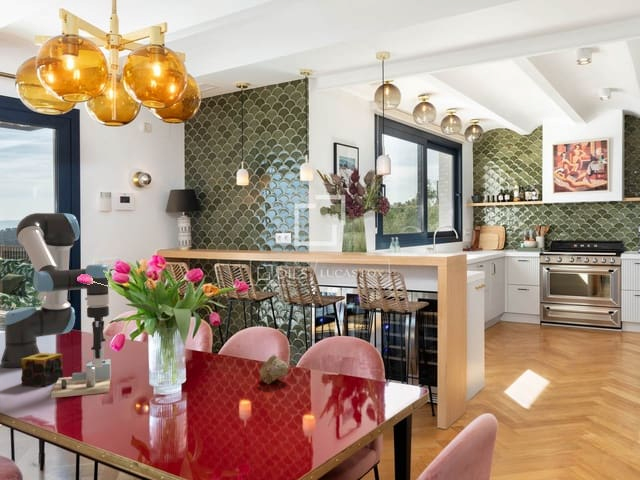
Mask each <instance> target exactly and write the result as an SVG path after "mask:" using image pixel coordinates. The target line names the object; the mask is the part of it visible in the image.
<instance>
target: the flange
mask: <svg viewBox="0 0 640 480" xmlns="http://www.w3.org/2000/svg"><path fill="white" fill-rule="evenodd" d="M111 362H112V360H111V358H107V359H102V367H96V368H95V380H103V379H110V376H111V377H112V366H111V365H112V364H111ZM87 367H94V360H87V363H86V366H85V369H86V368H87ZM71 377H72V381H73V380H84V379H86V371H81V372H73V373H72V374H71Z"/></svg>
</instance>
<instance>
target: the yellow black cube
mask: <svg viewBox="0 0 640 480" xmlns="http://www.w3.org/2000/svg"><path fill="white" fill-rule="evenodd" d="M21 360H22V367H21V377H20V379H21V386H24V387H40V388H41V387H42V388H46V387H48V386H50V385H53V384H56V383H57V381H58V379H59V378H63V376H64V373H63V371H64V369H63V354H62V353H46V352H45V353H42V352H40V353H39V354H36V355H32V356H29V357H26V358H22V359H21Z"/></svg>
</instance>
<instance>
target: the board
mask: <svg viewBox="0 0 640 480" xmlns="http://www.w3.org/2000/svg"><path fill="white" fill-rule="evenodd" d="M63 379H66V380H67V388H66V389H62V386H61V380H63ZM111 380H112V375H111V376H110V379H103V380H95V387H90V388H87V387H86V379H84V380H73V381H72V376H68V377H62V378H59V379H58V381H57V382H56V383H55V385H54V387H53V388H52V391H51V393H50V399H56V398H64V397H74V396H85V395H94V394H104V393H110V386H111Z"/></svg>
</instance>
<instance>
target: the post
mask: <svg viewBox="0 0 640 480" xmlns="http://www.w3.org/2000/svg"><path fill="white" fill-rule="evenodd" d="M85 372H86V387H87V388H90V387H95V367H87V368H86V367H85Z"/></svg>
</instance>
